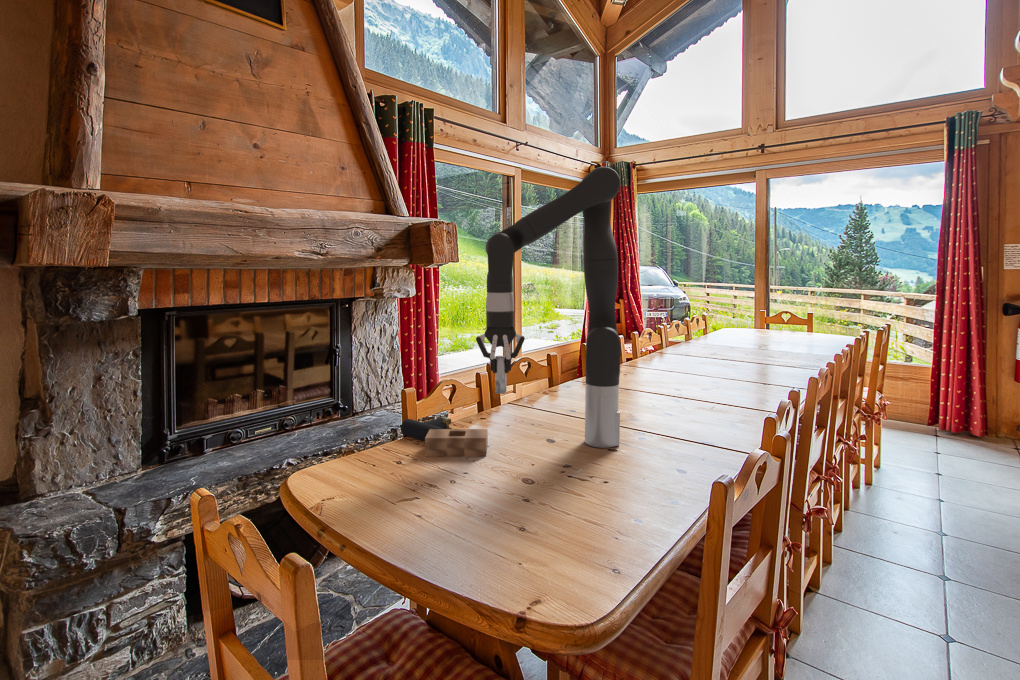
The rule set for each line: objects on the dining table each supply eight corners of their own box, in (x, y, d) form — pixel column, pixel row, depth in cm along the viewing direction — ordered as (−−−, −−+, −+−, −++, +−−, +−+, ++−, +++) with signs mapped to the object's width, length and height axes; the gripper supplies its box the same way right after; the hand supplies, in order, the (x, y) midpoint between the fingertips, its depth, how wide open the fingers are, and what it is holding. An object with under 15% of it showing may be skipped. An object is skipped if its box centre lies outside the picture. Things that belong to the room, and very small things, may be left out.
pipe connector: (429, 411, 167) (464, 420, 157) (430, 428, 168) (464, 437, 158) (400, 420, 158) (434, 430, 149) (401, 437, 159) (435, 448, 149)
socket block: (487, 446, 149) (487, 429, 148) (486, 456, 141) (485, 438, 141) (430, 446, 149) (429, 429, 149) (425, 456, 141) (424, 438, 141)
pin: (506, 391, 149) (506, 355, 147) (506, 393, 146) (506, 357, 144) (495, 391, 149) (495, 355, 147) (495, 393, 146) (494, 357, 144)
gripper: (525, 308, 148) (526, 369, 150) (475, 308, 148) (475, 370, 150) (526, 310, 140) (526, 375, 143) (472, 310, 140) (473, 375, 143)
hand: (500, 372), depth 146 cm, fingers closed on pin, 3 cm apart
